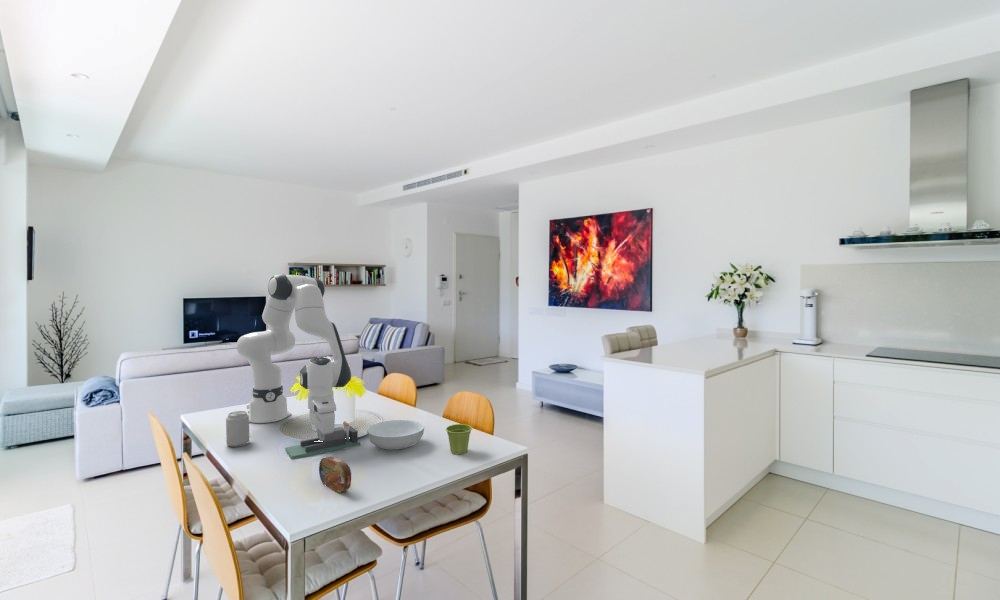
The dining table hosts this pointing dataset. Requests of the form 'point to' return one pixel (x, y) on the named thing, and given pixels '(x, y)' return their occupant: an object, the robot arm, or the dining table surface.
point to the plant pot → (458, 438)
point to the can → (237, 428)
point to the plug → (335, 435)
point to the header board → (324, 444)
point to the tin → (335, 474)
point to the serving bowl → (395, 434)
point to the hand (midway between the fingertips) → (321, 439)
